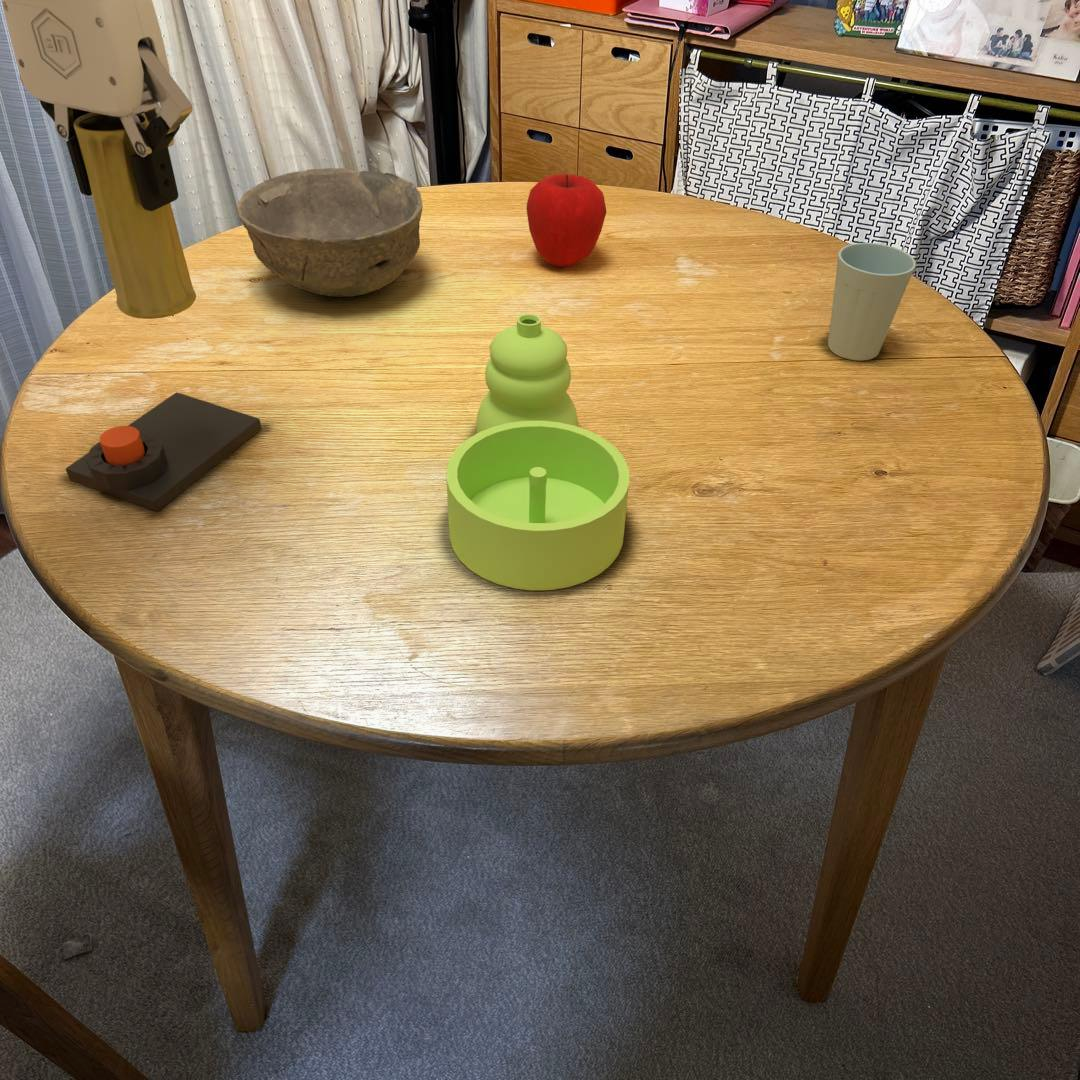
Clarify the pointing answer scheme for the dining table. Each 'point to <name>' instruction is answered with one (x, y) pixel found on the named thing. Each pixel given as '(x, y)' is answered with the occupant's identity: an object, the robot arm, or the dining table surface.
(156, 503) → the button base plate
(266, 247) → the bowl
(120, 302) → the vase
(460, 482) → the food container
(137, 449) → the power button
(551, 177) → the apple
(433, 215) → the dining table surface
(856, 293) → the cup
